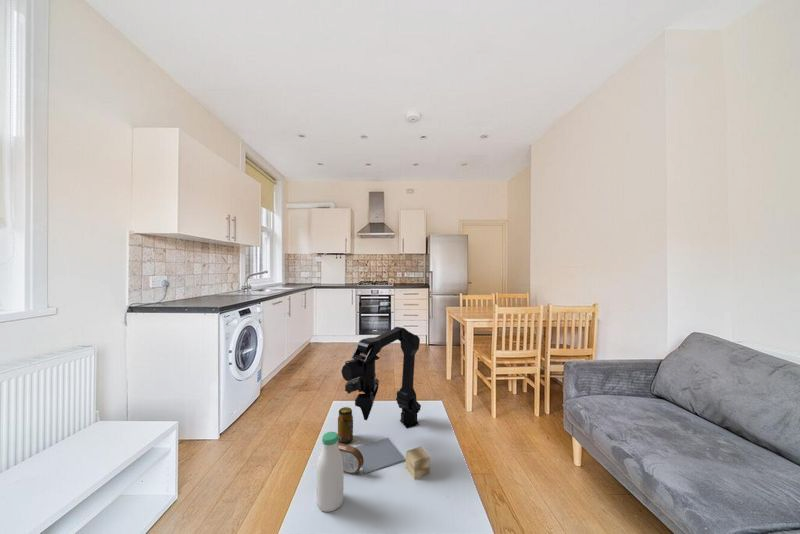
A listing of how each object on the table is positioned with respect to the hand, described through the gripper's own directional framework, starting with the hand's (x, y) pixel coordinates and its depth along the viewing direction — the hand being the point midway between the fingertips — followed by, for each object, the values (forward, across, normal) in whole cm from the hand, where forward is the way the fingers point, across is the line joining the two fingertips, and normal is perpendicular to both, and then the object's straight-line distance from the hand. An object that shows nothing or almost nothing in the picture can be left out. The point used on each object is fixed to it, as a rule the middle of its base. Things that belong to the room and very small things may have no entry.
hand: (368, 413), depth 114 cm
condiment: (+14, -5, -10) cm, 18 cm away
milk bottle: (+14, +26, -7) cm, 30 cm away
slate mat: (+14, +3, +4) cm, 15 cm away
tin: (+14, +12, -7) cm, 20 cm away
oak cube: (+14, +11, +19) cm, 26 cm away
